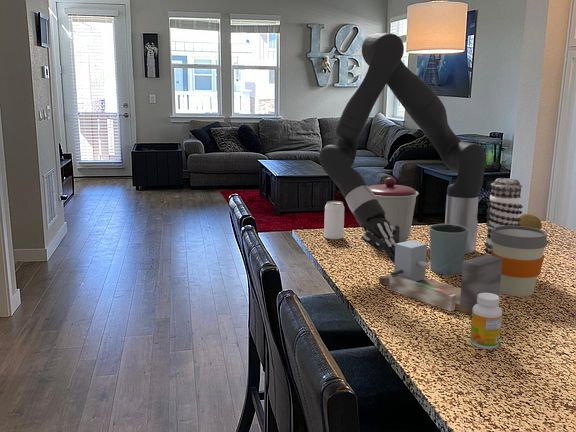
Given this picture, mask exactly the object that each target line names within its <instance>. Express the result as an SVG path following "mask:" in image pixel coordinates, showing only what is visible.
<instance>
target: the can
mask: <svg viewBox="0 0 576 432" xmlns="http://www.w3.org/2000/svg"><path fill="white" fill-rule="evenodd" d="M323 225H324V229H323V232H324V233H323V237H324V238H325V239H327V240H332V241H333V240H334V241H335V240H336V241H337V240H338V241H339V240H341V239H342V240H343V238H344V228H345V227H344V225H345V206H344V201H340V200H328V201H326V204H325V206H324V224H323Z"/></svg>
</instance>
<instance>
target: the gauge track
mask: <svg viewBox="0 0 576 432" xmlns="http://www.w3.org/2000/svg"><path fill="white" fill-rule="evenodd" d="M502 259H503V258H499V257H495V256H491V255H487V254H486V255H484V254H483V255H481V256H476V257H473V258H470V259H467V260H464V261H463V270H462V273H461V285H460V288H459V287H455V286H453V285H450V284H447V283H443V282H440V281H436V280H433V279H430V278H428V277H425V279H423V280H419V281H416V282H415V281H412V280H409V279H406V278H403V277H400V276H398V275H393V276H392V275H391V273H389V274H386V275H382V276H379V277H378V279H379V280H378V283H379V284H380V285H381V284H382V285H385V286H387V287H388V288H389V291H392V292H394V293H395V292H396V293H398V294H401V295H404V296H406V297H409V298H412V299H415V300H418V301H420V302H423V303H426V304H429V305H432V306H435V307H438V308H440V309H443V310H446V311H449V312H453V311H455V310H456V311H459V312H462V313H464V314H466V315H469V316H472V310H473V307H474V305H476V304H478V303H477V296H478V294H479V293H492V294H496V295H498V296H499V297H500V281H501V270H502Z"/></svg>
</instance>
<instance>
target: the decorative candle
mask: <svg viewBox="0 0 576 432" xmlns="http://www.w3.org/2000/svg"><path fill="white" fill-rule="evenodd" d="M490 185H491V188H490V195H489V198H487V202H486V206H487V207H488V208H487V209H486V213H487V214H486V216H485V218H486V219H487V221H486V224H485V225H486V228H487V235H486V238H485V239H486V240H485V243H484V246H485V247H484V249H483V250H484V252H485V253H484V254H483V255H486V254H487V255H491V251H492V250H493V243H492V241H491V237H492V232H493V228H495V227H497V226H520V224H519V223H518V222H519V221H521V219H520V218H519V217H520V216H519V215H523V211H522V210H521V209H523V207H524V206H523V205H522V204H521V202H522V196H521V194H522V187H523V186H524V185H522V184H521V182H520V181H519V180H518V179H515V178H509V177H508V178H506V177H499V178H496V179H495V180H494V181H493V182H492V183H490Z"/></svg>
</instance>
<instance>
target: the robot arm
mask: <svg viewBox="0 0 576 432" xmlns="http://www.w3.org/2000/svg"><path fill="white" fill-rule="evenodd" d="M404 51H405V45H404V42H403V40H402V39H401V38H400V36H398V35H397V34H396V33H395V34H394V33H392V32H377V33H372V34H370V35H368V36H366V37H365V39H364V40H363V41H362V45H361V54H362V58H363V60H364V62H365V64H366V65H368V68H367V71H366V74H365V76H364V77H363V80H362V82H361V83H360V85H359V86H358V88H357V89H356V90H355V92H354V93H353V95H352V96H351V98H350V99H349V100H348V101H347V103H346V105H345V107H344V109H343V111H342V114H341V116H340V117H339V120H338V122H337V125H336V128H335V134H336V136H337V137H338V141H337V145H335V144H327V145H325V146H324V147H322V148H321V150H320V152H319V154H318V155H319V156H318V159H319V164H320V166H321V168H322V169H323V171H324V172H325V173H326V174H327V176H328V177H329V178H330V180H332V182H334V183H335V184H336V186H337V187H338V189H339V191H340V192H341V194H342V197H343V198H344V199H345V201H346V204H347V206H348V208H349V210H350V212H351V213H352V215H353V217H354V219H355V220H356V222H357V223H358V225H359V227H360V228H362V229H363V231H364V234H363V235H362V236H361V240H362V241H364V243H366V244H367V245H370V246H371V247H372V248H374V249H375V250H377V251H383V252H385V253H386V255H387V256H388V258H389V260H390V261H391V262H392V263H393V264H395V244H397V243H399V226H395V227H394V226H391V225H390V223H389V221H387V220H386V218H385V211H384V210H383V208H382V206H381V205H380V203H379V202H378V200H377V198H376V197H375V195H374V193H373V192H372V191H371V190H370V188H369V187H368V186H369V185H368V184H367V183H366V181H365V179H364V177H363V175H361V174H360V172H359V171H357V170H355V169H354V168H353V167H352V166H353V165H354V162H355V160H356V156H357V152H358V147H359V141H360V136H361V135H362V133H363V131H364V128H365V126H366V124H367V121H368V119H369V116H370V115H371V113H372V110H373V108H374V106H375V104H376V102H377V100H378V99H379V97H380V95H381V94H382V92H383V90H384V88H385V87H386V85H387V86H388V88H389V89H390V91H391V92H392V93H393V95H394V96H395V98H396V99H397V100H398V102H399V103H400V105H401V106H402V107H403V109H404V110H405V111H406V112H407V114H408V115H409V116H410V118H411V119H412V120H413V122H414V123H415V124H416V125H417V126H418V127H419V128H420V130H421V131H422V133H423V134H424V135H425V136H426V138H427V139H428V140H429V142H430V143H431V144H432V145H433V147H434V148H435V150H436V152H437V153H438V155H439V157H440V158H441V160H442V161H443V164H445V166H446V167H447V168H448V169H450V170H451V171H452V172H455V173H457V175H456V181H455V182H454V183H451V184H449V185H448V186H447V189H446V201H445V219H444V224H455V225H460V226H464V227H466V228H468V230H469V231H468V236H467V242H466V249H465V255H469V254H473V253H474V252H475V250H477V235H478V226H479V225H478V223H479V221H478V207H479V196H480V195H479V194H480V191H481V188H482V186H483V183H484V175H485V168H486V153H485V150H484V148H483V147H482V145H480V144H478V143H475V142H474V143H473V142H467V141H462V140H461V139H460V138H459V137H458V136H457V134H455V132H454V131H453V130H452V129H451V126H450V125H449V121H448V115H447V111H446V107H445V105H444V103H443V101H441V99H440V98H439V96H438V95H437V93H436V92H435V90H434V89H432V87H430V85H428V83H426V82H425V81H424V80H423V79H422V78H420V77H419V76H418V75H416V73H414V72H412V71H411V70H410V69H409V68H408V67H407V65H405V63H404V62H403V60H402V58H403V55H404V53H405V52H404ZM389 241H390V242H389Z"/></svg>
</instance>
